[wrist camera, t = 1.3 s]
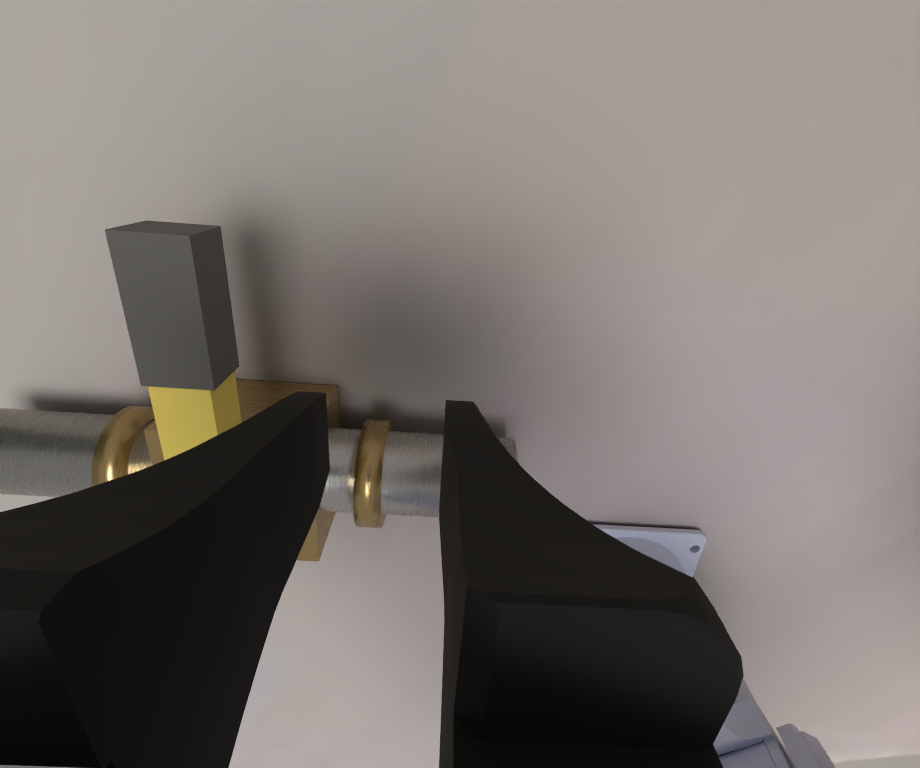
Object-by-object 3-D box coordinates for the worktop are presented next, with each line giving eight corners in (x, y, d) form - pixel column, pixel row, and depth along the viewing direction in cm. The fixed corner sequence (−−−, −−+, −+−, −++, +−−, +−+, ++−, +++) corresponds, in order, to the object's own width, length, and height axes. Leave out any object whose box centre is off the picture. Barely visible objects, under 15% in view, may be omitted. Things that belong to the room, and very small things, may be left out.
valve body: (513, 396, 22) (526, 452, 18) (499, 500, 25) (508, 570, 21) (19, 365, 22) (-85, 416, 17) (58, 476, 24) (-26, 544, 20)
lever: (281, 535, 20) (260, 582, 18) (201, 531, 20) (170, 577, 17) (247, 224, 15) (211, 237, 12) (137, 216, 14) (82, 227, 12)
